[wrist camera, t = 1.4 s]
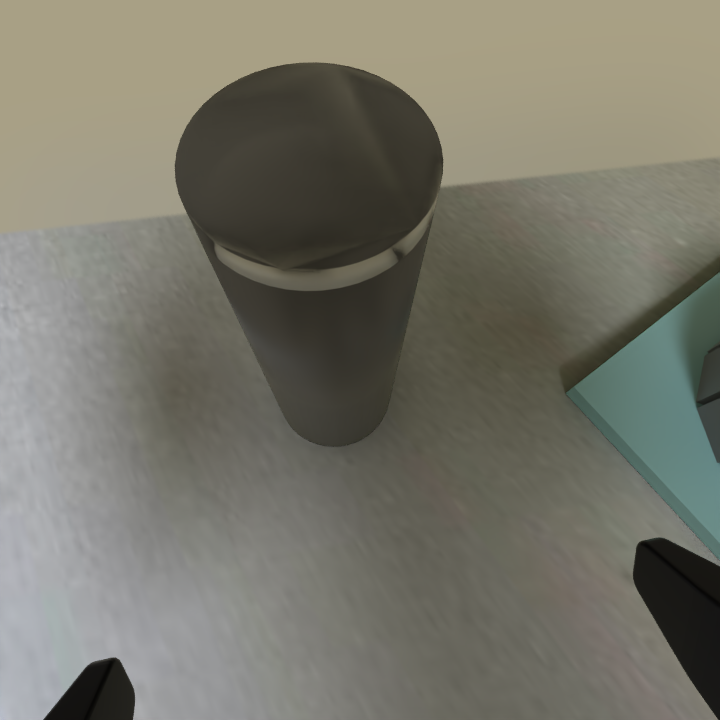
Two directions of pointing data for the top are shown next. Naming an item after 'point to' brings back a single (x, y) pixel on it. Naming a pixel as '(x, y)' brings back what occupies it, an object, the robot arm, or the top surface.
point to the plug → (316, 231)
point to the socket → (668, 408)
